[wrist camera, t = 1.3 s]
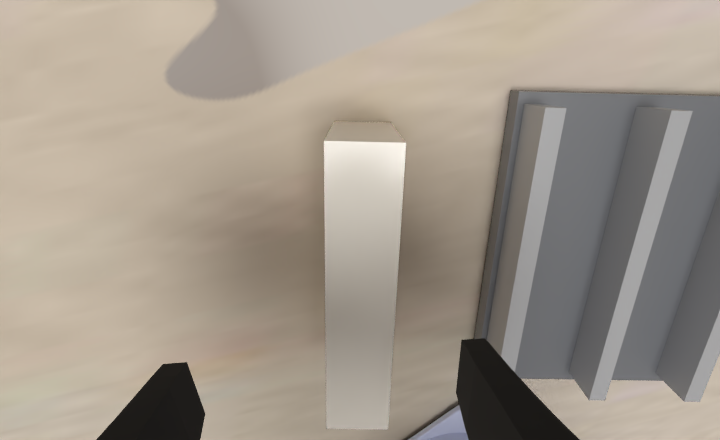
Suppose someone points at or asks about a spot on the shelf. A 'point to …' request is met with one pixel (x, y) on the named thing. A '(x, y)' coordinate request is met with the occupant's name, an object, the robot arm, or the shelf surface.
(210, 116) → the shelf surface
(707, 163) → the ridged grey tray
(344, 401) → the long beige block
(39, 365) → the shelf surface
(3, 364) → the shelf surface
